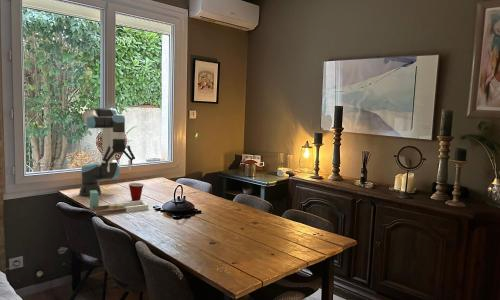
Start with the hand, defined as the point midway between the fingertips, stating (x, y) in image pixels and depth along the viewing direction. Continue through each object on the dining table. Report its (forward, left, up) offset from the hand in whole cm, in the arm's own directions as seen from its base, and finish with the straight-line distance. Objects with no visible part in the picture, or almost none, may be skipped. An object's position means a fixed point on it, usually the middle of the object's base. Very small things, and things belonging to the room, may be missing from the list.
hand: (119, 170), depth 250 cm
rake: (-9, -14, -26) cm, 31 cm away
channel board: (+3, -7, -26) cm, 27 cm away
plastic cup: (-17, +16, -26) cm, 35 cm away
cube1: (+3, -5, -26) cm, 26 cm away
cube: (+4, -1, -26) cm, 26 cm away
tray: (+3, +9, -26) cm, 27 cm away
